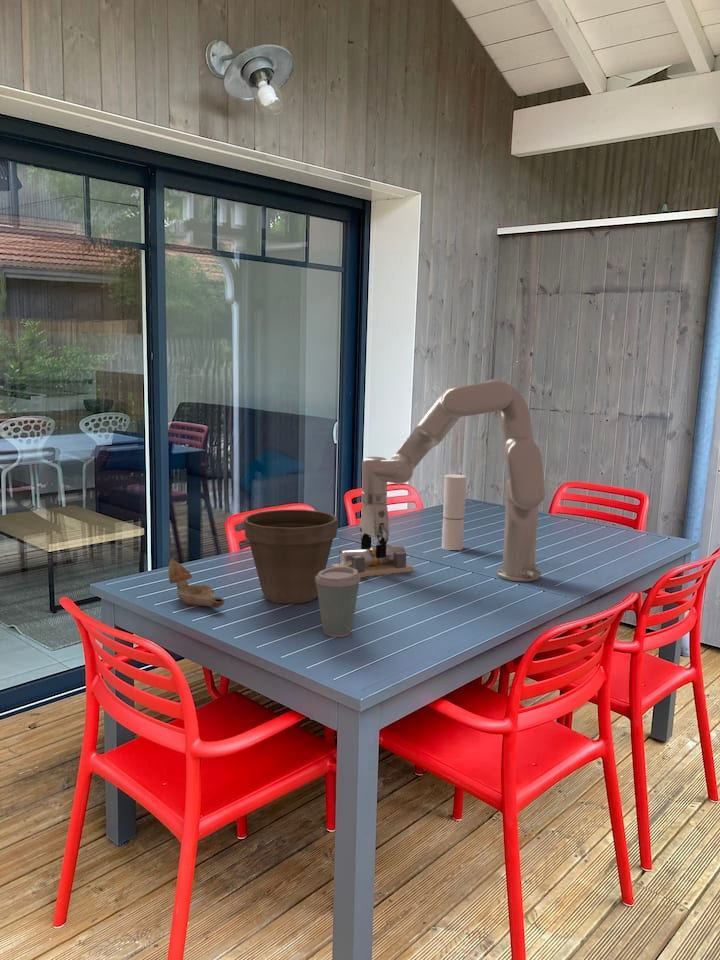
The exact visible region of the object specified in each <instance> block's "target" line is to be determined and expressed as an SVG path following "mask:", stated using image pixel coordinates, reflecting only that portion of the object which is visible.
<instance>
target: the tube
mask: <svg viewBox="0 0 720 960" xmlns="http://www.w3.org/2000/svg"><path fill="white" fill-rule="evenodd" d="M350 550H351V549H350ZM401 551H403V552H405V553H406V554H407V552H406V549H405V547H404V546H402V545H399V546H397V545H395V546H392V547H386V557H385V558H376V547H371V548H369V549H362V550H361V549H353V550H351V551H342V552H341V553H340V564H341V566H342V567H345V566H347V567H352V557H354V556H363V557H364V558H365V566H373V565H380V564H389V563H393V560H394V552H401Z"/></svg>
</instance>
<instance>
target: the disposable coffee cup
mask: <svg viewBox="0 0 720 960" xmlns="http://www.w3.org/2000/svg"><path fill="white" fill-rule="evenodd" d="M315 581H316V586H317V593H318V596H317V599H318V606H319V611H320V618H321V619H320V620H321V627H322V631H323V634H324V635H326V636H328V637H331V638H343V637H347V636H349V635H350V634H351V633H352V632H351V631H352V629H353V625H354V624H353V623H354V619H355V612H356V606H357V600H358V592H359V588H360V587H359V585H360V582H361V581H362V580H361V577H360V575H358V570H356V569H355V568H351V567H347V566H345V567H332V568H331V567H326V569H324V570H322V571H320V572H319V573H318V574H317V576H316V577H315Z"/></svg>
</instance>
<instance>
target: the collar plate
mask: <svg viewBox="0 0 720 960" xmlns="http://www.w3.org/2000/svg"><path fill="white" fill-rule="evenodd" d="M386 547H393V546H392V545H390V544H387V545H386ZM342 551H351V549H350V548H342V549H341V548H340V549H338V563H331V565H330V568H332V567H342V566H341V564H340V553H341V552H342ZM405 552H406V551H405ZM405 552H403V551H401V552H394V560H393V563H389V564H380V565H373V566H365V558H364V557H363V556H354V557H352V567H351V568H355V569H356V570H358V575H360V578H367V577H366V576H369V577H375V576H374V575H377V576H383V575H382V574H385V575H392V574H391V573H394V574H399V573H400V574H401V572H402V573H409V572H414V566H413V565H411V564H409V563H407V552H406V553H405Z"/></svg>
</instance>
